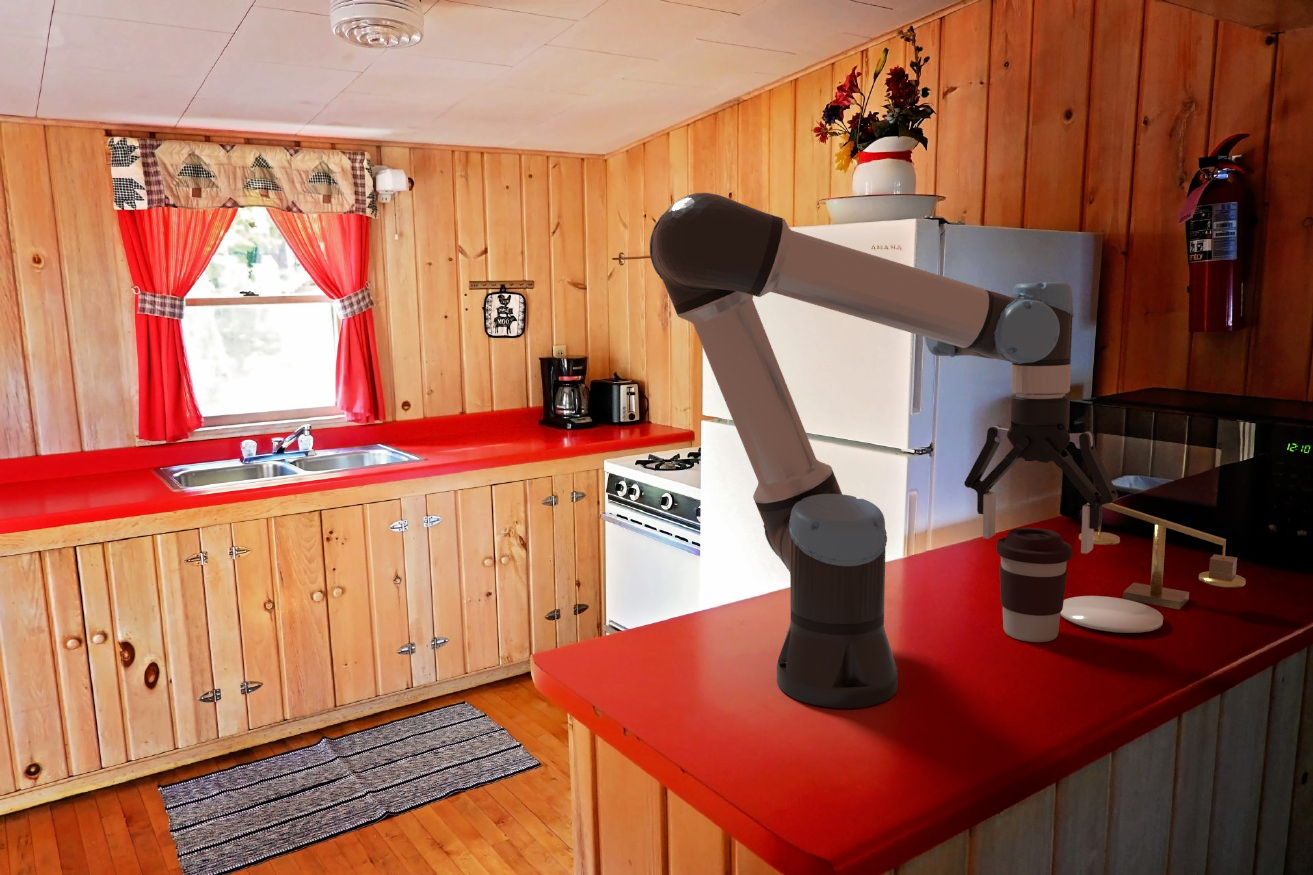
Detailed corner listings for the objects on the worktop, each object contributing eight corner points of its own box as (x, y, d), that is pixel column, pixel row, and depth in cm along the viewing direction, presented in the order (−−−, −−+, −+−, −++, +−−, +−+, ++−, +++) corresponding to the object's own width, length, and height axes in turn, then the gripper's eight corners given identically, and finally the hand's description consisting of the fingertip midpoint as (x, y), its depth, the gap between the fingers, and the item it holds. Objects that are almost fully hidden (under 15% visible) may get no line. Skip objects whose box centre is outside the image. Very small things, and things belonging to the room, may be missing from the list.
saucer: (1148, 644, 126) (1148, 635, 126) (1044, 622, 135) (1045, 614, 135) (1173, 616, 137) (1173, 608, 136) (1075, 598, 146) (1075, 590, 146)
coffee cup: (994, 643, 128) (998, 539, 126) (992, 619, 137) (996, 522, 135) (1071, 650, 125) (1076, 544, 123) (1064, 625, 134) (1068, 526, 132)
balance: (1238, 620, 134) (1246, 522, 132) (1071, 589, 150) (1075, 501, 148) (1246, 609, 139) (1253, 514, 136) (1083, 580, 154) (1087, 495, 152)
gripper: (1146, 395, 120) (1139, 550, 124) (964, 388, 137) (962, 525, 140) (1131, 402, 115) (1124, 564, 118) (942, 393, 131) (941, 536, 134)
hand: (1036, 543), depth 129 cm, fingers open, 13 cm apart
